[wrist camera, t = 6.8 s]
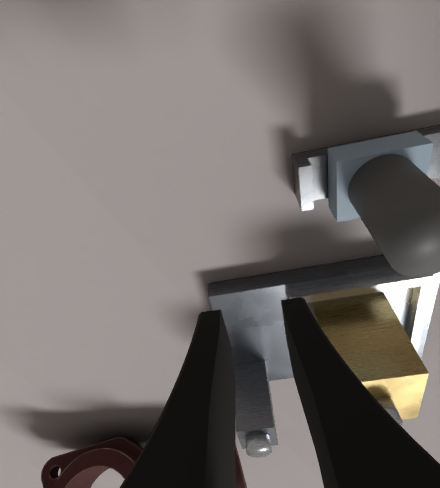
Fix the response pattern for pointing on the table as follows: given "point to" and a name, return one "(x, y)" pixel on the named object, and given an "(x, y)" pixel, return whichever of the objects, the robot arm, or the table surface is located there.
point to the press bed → (315, 293)
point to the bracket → (101, 464)
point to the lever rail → (316, 169)
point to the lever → (390, 198)
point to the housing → (376, 352)
